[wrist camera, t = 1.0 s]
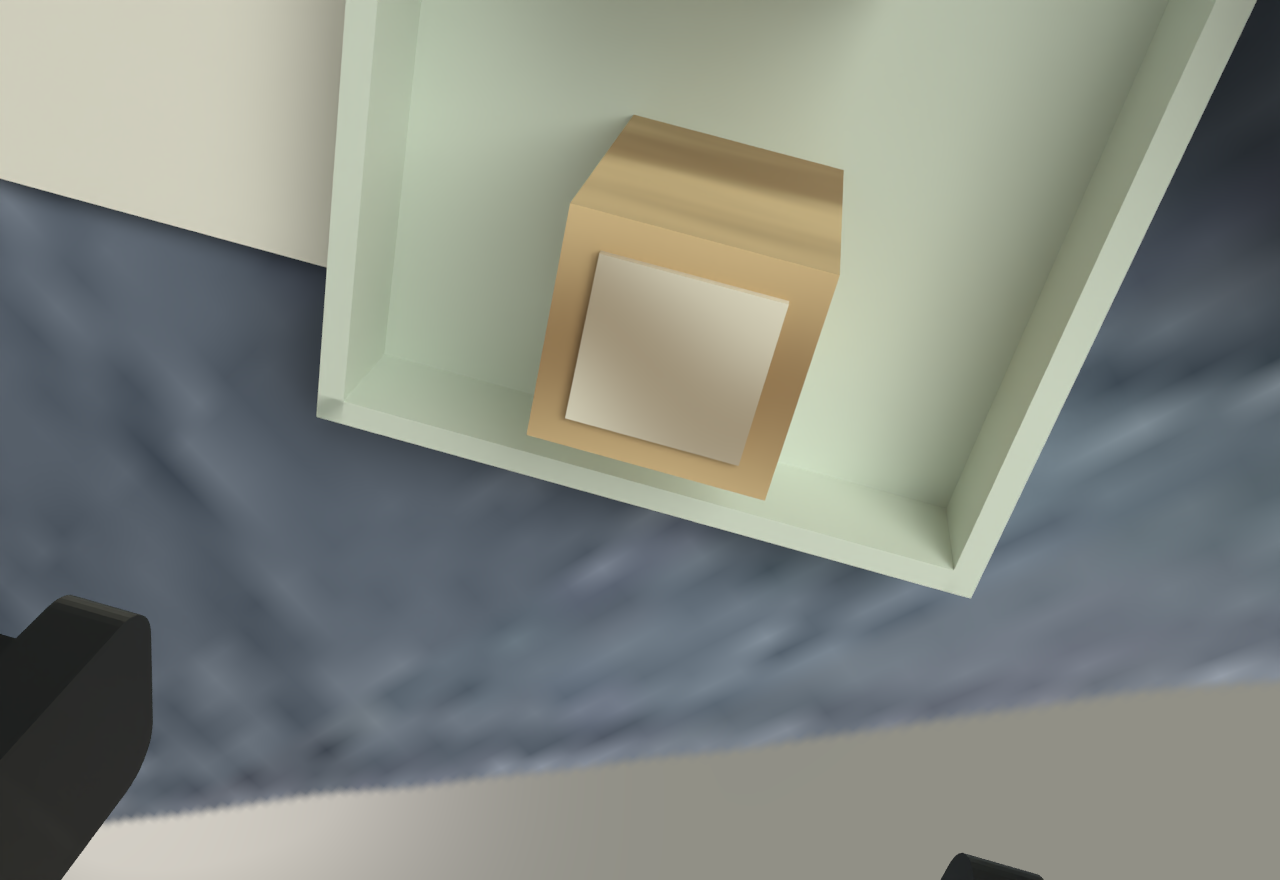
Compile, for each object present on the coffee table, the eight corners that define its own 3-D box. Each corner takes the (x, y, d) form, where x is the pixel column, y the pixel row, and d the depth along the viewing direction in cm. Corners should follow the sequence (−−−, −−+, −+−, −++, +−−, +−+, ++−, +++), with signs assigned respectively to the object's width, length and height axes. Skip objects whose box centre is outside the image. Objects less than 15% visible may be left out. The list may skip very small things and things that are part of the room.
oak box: (633, 114, 23) (567, 205, 18) (843, 170, 23) (839, 278, 18) (593, 307, 25) (524, 438, 20) (783, 359, 25) (763, 505, 20)
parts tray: (472, -747, 17) (405, -842, 15) (1431, -521, 17) (1533, -578, 14) (366, 360, 28) (316, 416, 25) (959, 523, 27) (970, 598, 25)
